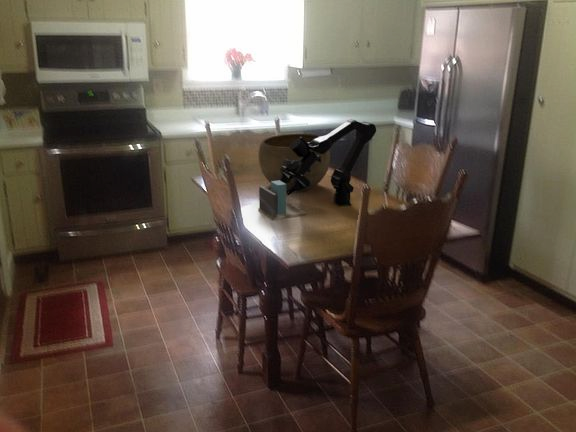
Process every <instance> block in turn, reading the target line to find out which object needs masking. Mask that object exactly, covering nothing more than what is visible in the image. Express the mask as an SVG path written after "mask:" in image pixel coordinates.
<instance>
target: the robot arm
mask: <svg viewBox="0 0 576 432" xmlns="http://www.w3.org/2000/svg"><path fill="white" fill-rule="evenodd" d="M354 130H355V139H354V142H353V143H352V144H351V145H352V146H351V147H350V149H349V151H348V153H347V155H346V157H345V159H344V161H343V163H342V165H341V167H339V168H335V169H334V170H333V173H332V174H331V175H330V184H331V186H332V187H333V189H334V190H335V192H334V197H333V202H334V204H335V205H336V206H338V207H339V206H351V205H352V203H351V193H353V192H354V189H355V188H354V186H353V185H351V183H350V182H351V179H352V177H351V176H352V171H353V169H354V167H355V165H356V164H357V161H358V159H359V157H360V156H361V153H362V151H363V149H364V147H365V146H366V144H368V142H370V140H372V139H373V137H375V135H376V132H377V128H376V125H375V124H374V123H370V122H367V121H360V122H359V121H357V120H355V119H347V120H346V122H344V123H342V124H341V125H340V126H338V127H337V128H334V129H333V130H332V131H330V132H329V133H327V134H325V135H320V136H321V137H318V138H316V139H314V140H313V141H312V142H308V143H307V142H306V141H305V140H304V139H303V138H302V137H299V138H298V139H296V140H294V141H293V142H292V143H291V144H290V149H291V150H292V151H293V152H294V153H295V154H296V155H297V156H298V157H302V158H301V159H300V160H299V161H298V160H297V161H295V160H293V161H290V160H287V159H284V161H283V164H282V167H281V168H280V169H279V170H280V173H281V179H280V181H281V182H283V183H285V184H287V183H289V182H290V181H291V180H290V179H293V178H294V183H293V185H292V186H291V188H290V189H289V191H288V190H287V192H286V196H287V195H288V196H290V195H292V194H294V193H297V192H300V191H299V190H301V189H304V188H306V187H307V188H308V187H309V186H310V185H311V181H310V180H309V179H308V178H307V177H305V176H304V175H305V174H306V173H307V172H310V170H309V169H310V168H311V167H312V165H313V164H314V163H315V162H316V161H318V162H321V156H319V155H316V154H315V152H317V153H319V154H325V153H326V152H327V151H328V150H329V149H332V146H333V145H334V144H335V143H336V142H338V141H339V140H340V139H342V138H344V137H345V136H347V135H348V134H350V133H351V132H352V131H354ZM310 150H312V151H314V152H311V151H310ZM301 191H302V190H301Z"/></svg>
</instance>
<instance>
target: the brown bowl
mask: <svg viewBox="0 0 576 432" xmlns="http://www.w3.org/2000/svg"><path fill="white" fill-rule="evenodd" d="M321 136H322V135H318V134H312V133H284V134H280V135H279V134H277V135H274V136H270V137H267V138H265V139H263V140H262V141H261V142H260V145H259V148H258V149H259V150H258V163H259V166H260V169H261V171H262V174H263V176H264V177H265V179H266V180H267V181H268V182H269V183H270V184H271V181H278V180H280V179H281V173H280V170H279V169H280V168H281V167H282V164H283V161H284V159H287V160H290V161H293V160H295V161H297V160H298V161H299V160H300V159H301V158H302V157H298V156H297V155H296V154H295V153H294V152H293V151H292V150H291V149H290V144H291V143H292V142H293V141H294V140H296V139H298V138H299V137H302V138H303V139H304V140H305V141H306V142H307V143H308V142H312V141H313V140H314V139H316V138H318V137H321ZM330 149H331V148H330ZM330 149H329V150H328V151H327V152H326V153H325V154H319V153H317V152H315V154H316V155H319V156H321V162H318V161H316V162H315V163H314V164H313V165H312V167H311V168H310V169H309V170H310V172H307V173H306V174H305V175H304V176H305V177H307V178H308V179H309V180H310V181H311V185H310V186H309V187H308V188H307V187H306V188H304V189H301V190H299V191H298V192H301V191H306V190H310V189H312V188H313V187H315V186H316V185H318V184H319V183H320V182H322V180H323V179H324V178H325V176H326V175H327V173H328V171H329V167H330V163H331V162H330V160H331V151H330ZM310 151H311V152H314V151H312V150H310ZM290 180H291V181H290V182H289V183H287V184H286V191H287V192H288V191H289V189H290V188H291V186H292V185H293V183H294V178H293V179H290Z"/></svg>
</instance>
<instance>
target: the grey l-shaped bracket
mask: <svg viewBox="0 0 576 432" xmlns="http://www.w3.org/2000/svg"><path fill="white" fill-rule="evenodd" d="M258 188H259V191H258V192H259V201H258V203H259V204H258V205H259V208H257V209H258V210H257V211H259V213H260V214H262V215H264V216H265V217H267V218H269V219H270V220H271V221H276V220H277V221H278V220H284V219H288V218H294V217H301V216H306V212H305V211H303V210H302V209H301V208H299V207H297V206H295V205H293V204H292V203H286V213H285V214H279V215H277V214H276V199H277V195H276V194H275V193H273V192H271V189H270V190H269V189H267V188H266V187H264V186H263V185H259V187H258Z"/></svg>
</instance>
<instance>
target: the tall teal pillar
mask: <svg viewBox="0 0 576 432" xmlns="http://www.w3.org/2000/svg"><path fill="white" fill-rule="evenodd" d="M270 191H271V192H273V193H275V194H276V195H277V199H276V214H277V215H279V214H285V213H286V204H287V190H286V184H285V183H283V182H281V181H280V180H278V181H271V183H270Z"/></svg>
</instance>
